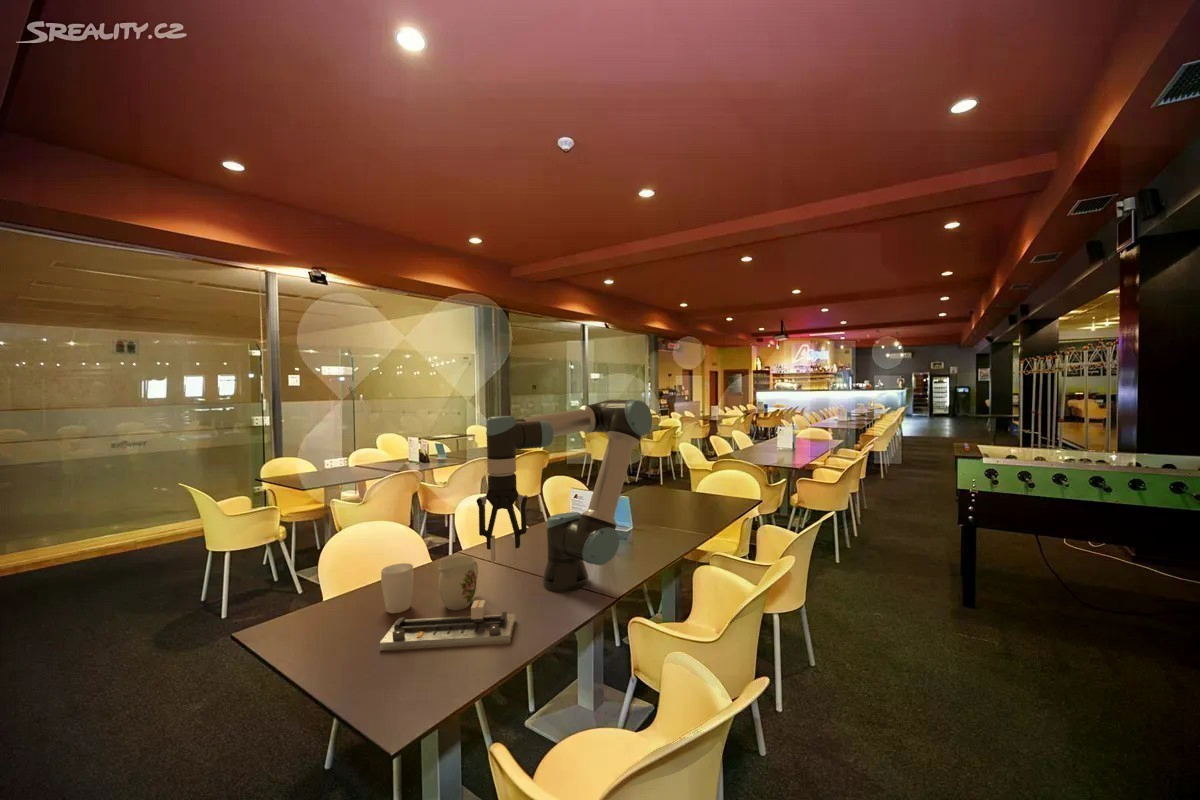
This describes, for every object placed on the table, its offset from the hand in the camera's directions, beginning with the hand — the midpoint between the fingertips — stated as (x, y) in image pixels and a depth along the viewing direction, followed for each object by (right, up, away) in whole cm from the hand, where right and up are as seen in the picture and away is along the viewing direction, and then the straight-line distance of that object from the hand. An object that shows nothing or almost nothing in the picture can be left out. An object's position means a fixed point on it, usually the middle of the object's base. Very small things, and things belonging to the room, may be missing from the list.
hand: (503, 560), depth 125 cm
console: (-14, -19, -2) cm, 23 cm away
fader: (-7, -17, 0) cm, 18 cm away
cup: (-35, -20, +15) cm, 42 cm away
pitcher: (-17, -19, +17) cm, 31 cm away
